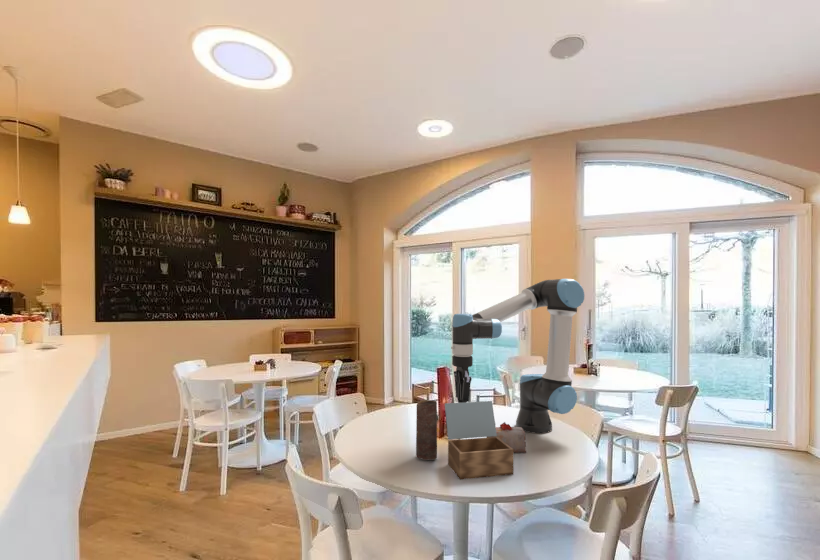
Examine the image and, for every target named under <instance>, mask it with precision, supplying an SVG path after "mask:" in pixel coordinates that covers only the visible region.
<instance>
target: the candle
mask: <svg viewBox="0 0 820 560" xmlns="http://www.w3.org/2000/svg"><path fill="white" fill-rule="evenodd" d="M437 405H438V403H437V400H427V399H426V400H424V399H423V400H420V401H418V402H417V403H416V421H415V423H416V425H415V427H416V428H415V429H416V430H415V431H416V434H415V435H416V438H415V439H416V443H415V446H416V447H415V456H416V458H418V459H421V460H423V461H430V460H437V458H438V425H437V424H438V422H437V421H438V416H437V415H438V413H437V411H438V409H437V408H438V407H437Z"/></svg>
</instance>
